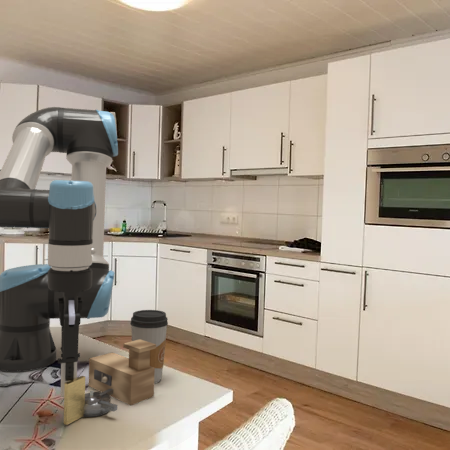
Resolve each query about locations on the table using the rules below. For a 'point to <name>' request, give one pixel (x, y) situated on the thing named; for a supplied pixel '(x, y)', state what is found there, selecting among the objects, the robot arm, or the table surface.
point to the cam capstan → (84, 401)
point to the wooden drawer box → (125, 373)
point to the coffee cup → (151, 335)
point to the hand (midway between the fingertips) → (68, 395)
